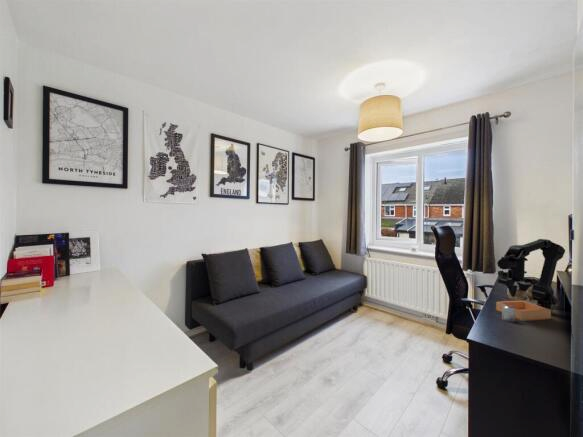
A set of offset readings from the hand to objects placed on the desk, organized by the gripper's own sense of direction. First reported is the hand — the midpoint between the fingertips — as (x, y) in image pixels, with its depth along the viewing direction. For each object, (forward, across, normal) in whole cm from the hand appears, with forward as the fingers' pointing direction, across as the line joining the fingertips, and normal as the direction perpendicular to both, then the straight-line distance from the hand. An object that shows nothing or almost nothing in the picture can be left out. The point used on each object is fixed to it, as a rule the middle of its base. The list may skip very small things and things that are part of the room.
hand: (516, 296), depth 136 cm
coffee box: (+11, -30, -13) cm, 34 cm away
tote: (+10, -4, 0) cm, 11 cm away
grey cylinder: (+10, +11, +5) cm, 16 cm away
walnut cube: (+2, 0, 0) cm, 2 cm away
